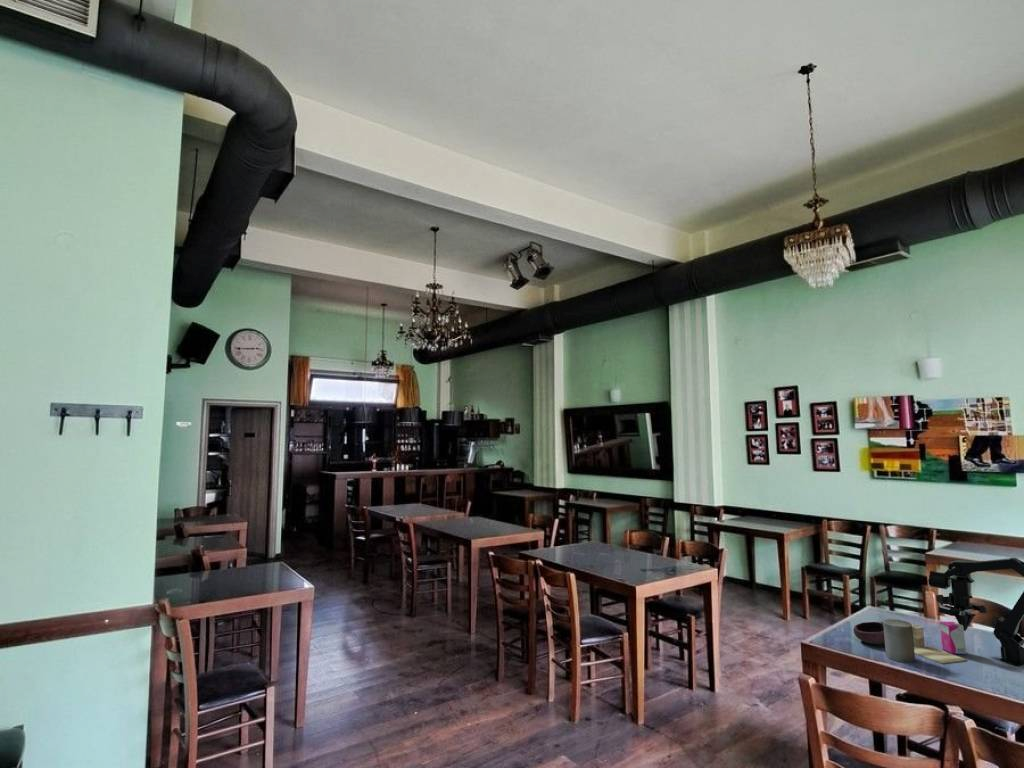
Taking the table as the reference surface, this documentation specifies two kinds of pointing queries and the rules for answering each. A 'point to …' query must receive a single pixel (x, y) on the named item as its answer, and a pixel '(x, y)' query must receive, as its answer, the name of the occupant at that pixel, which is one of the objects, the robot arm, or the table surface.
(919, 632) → the beech block
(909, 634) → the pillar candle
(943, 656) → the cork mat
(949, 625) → the supplement box
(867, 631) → the bowl
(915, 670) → the table surface
